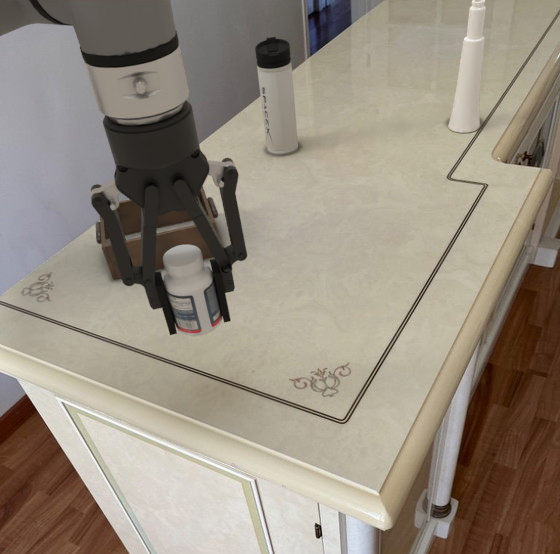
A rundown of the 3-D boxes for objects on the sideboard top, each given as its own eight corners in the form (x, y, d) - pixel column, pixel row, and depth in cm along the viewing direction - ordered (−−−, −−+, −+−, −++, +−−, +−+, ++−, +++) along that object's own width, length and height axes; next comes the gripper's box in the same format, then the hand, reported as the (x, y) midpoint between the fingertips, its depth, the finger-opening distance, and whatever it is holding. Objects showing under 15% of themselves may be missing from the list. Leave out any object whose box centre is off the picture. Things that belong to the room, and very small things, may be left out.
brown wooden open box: (108, 285, 91) (94, 249, 86) (105, 241, 100) (92, 207, 96) (228, 257, 93) (221, 220, 88) (214, 217, 102) (207, 182, 98)
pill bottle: (211, 301, 68) (196, 234, 61) (230, 325, 64) (216, 258, 58) (168, 317, 66) (149, 251, 60) (185, 344, 63) (167, 276, 57)
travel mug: (297, 142, 120) (288, 34, 106) (299, 157, 115) (290, 45, 101) (266, 146, 120) (253, 39, 106) (268, 161, 116) (254, 50, 101)
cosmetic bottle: (470, 118, 120) (485, -7, 104) (485, 129, 116) (503, 1, 100) (442, 124, 119) (454, -1, 104) (456, 135, 115) (470, 7, 99)
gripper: (31, 147, 45) (118, 362, 62) (263, 102, 47) (287, 322, 64) (36, 111, 50) (114, 318, 67) (244, 72, 52) (270, 283, 69)
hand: (198, 320), depth 65 cm, fingers closed on pill bottle, 5 cm apart
